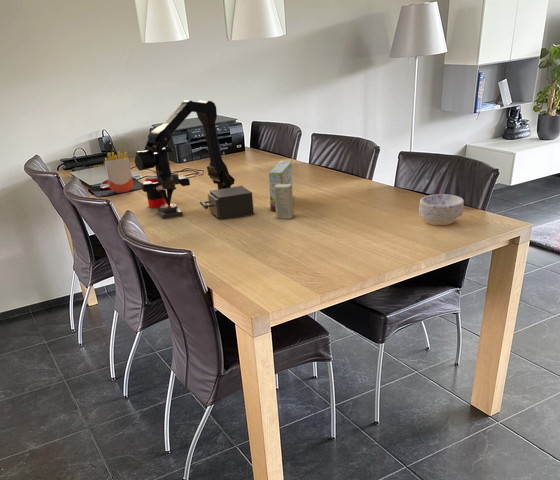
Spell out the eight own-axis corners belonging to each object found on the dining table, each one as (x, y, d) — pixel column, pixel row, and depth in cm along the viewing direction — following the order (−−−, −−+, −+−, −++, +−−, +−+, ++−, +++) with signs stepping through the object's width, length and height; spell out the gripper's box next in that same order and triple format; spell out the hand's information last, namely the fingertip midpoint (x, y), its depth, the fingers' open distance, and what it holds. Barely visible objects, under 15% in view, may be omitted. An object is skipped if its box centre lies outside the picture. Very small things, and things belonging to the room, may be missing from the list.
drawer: (207, 219, 222) (205, 201, 219) (199, 212, 232) (197, 195, 228) (247, 212, 227) (246, 195, 224) (238, 205, 236) (237, 189, 233)
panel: (158, 212, 238) (156, 204, 236) (176, 209, 240) (175, 201, 238) (163, 219, 230) (161, 210, 228) (182, 215, 232) (181, 207, 230)
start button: (164, 209, 235) (163, 205, 234) (172, 207, 236) (172, 203, 235) (166, 211, 232) (165, 207, 231) (174, 210, 233) (174, 205, 232)
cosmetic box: (294, 215, 223) (292, 183, 217) (290, 219, 220) (289, 186, 213) (279, 215, 225) (277, 183, 219) (275, 218, 222) (273, 186, 215)
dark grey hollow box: (221, 219, 224) (218, 197, 219) (212, 212, 234) (209, 190, 230) (253, 214, 228) (252, 192, 223) (243, 206, 238) (242, 185, 233)
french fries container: (110, 192, 273) (101, 152, 263) (132, 188, 276) (125, 149, 267) (111, 194, 269) (103, 154, 260) (134, 190, 273) (127, 150, 263)
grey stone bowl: (437, 231, 198) (439, 208, 194) (409, 220, 210) (411, 198, 205) (471, 222, 203) (473, 200, 199) (442, 212, 215) (444, 191, 211)
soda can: (170, 204, 248) (165, 175, 242) (160, 209, 242) (155, 180, 236) (155, 203, 251) (151, 174, 245) (145, 207, 245) (140, 179, 239)
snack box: (283, 211, 229) (281, 172, 221) (270, 211, 230) (267, 172, 222) (293, 196, 247) (292, 160, 239) (281, 196, 248) (279, 160, 240)
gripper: (142, 172, 216) (149, 214, 224) (190, 166, 221) (195, 206, 229) (137, 167, 225) (144, 207, 233) (183, 161, 230) (189, 200, 238)
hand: (168, 205), depth 233 cm, fingers closed, pressing on start button
